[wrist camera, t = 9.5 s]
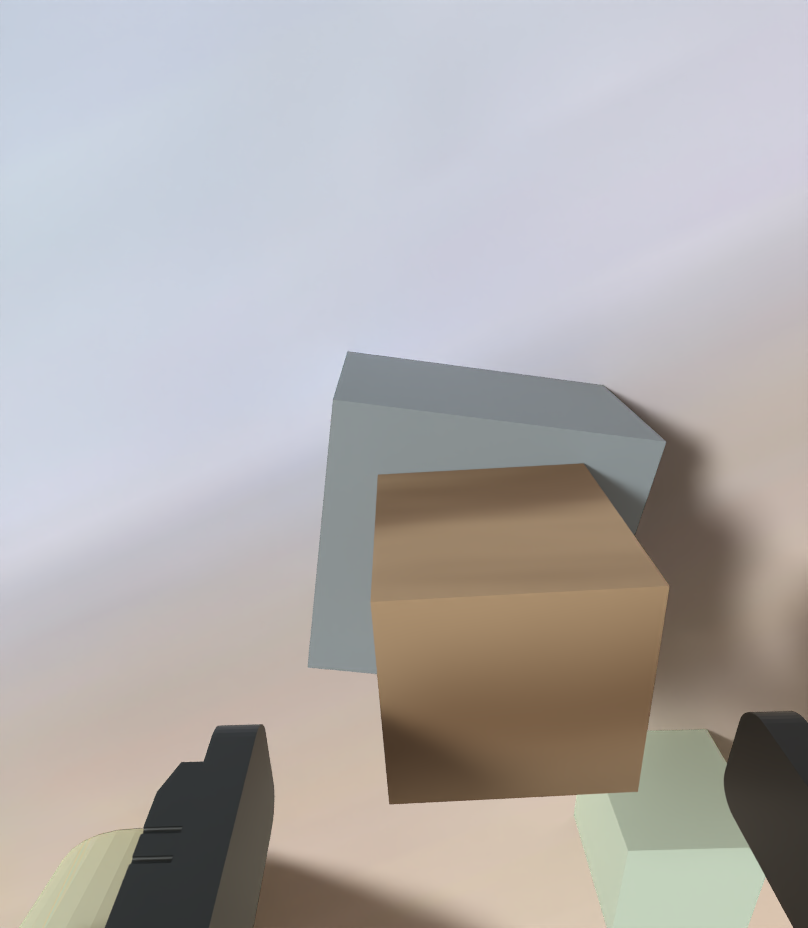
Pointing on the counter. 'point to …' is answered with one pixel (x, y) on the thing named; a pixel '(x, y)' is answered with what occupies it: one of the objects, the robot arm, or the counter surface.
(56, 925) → the reusable coffee cup
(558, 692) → the walnut block
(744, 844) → the sage green block
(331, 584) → the slate block
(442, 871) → the counter surface
